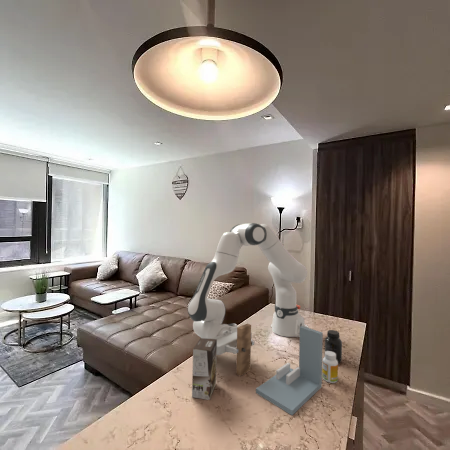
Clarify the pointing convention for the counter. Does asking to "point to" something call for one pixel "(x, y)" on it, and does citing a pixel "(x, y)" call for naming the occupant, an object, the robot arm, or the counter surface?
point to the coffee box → (204, 368)
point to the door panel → (243, 349)
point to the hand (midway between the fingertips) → (245, 347)
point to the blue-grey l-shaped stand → (297, 375)
